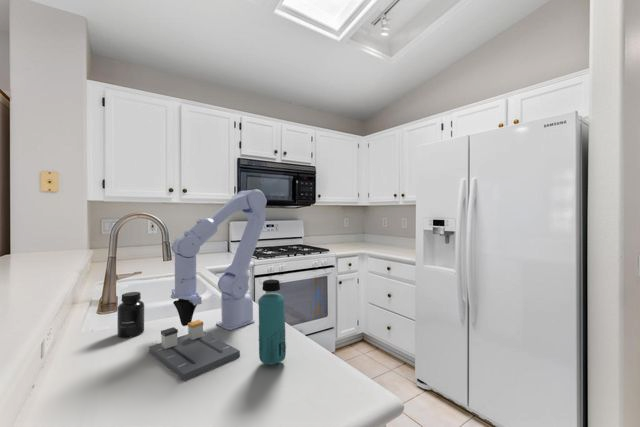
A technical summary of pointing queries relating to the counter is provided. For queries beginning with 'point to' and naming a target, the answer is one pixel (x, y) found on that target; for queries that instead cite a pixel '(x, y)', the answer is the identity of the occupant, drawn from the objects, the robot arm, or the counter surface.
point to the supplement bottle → (130, 315)
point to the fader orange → (195, 329)
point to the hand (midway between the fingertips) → (186, 324)
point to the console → (194, 355)
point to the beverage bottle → (271, 324)
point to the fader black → (169, 337)
